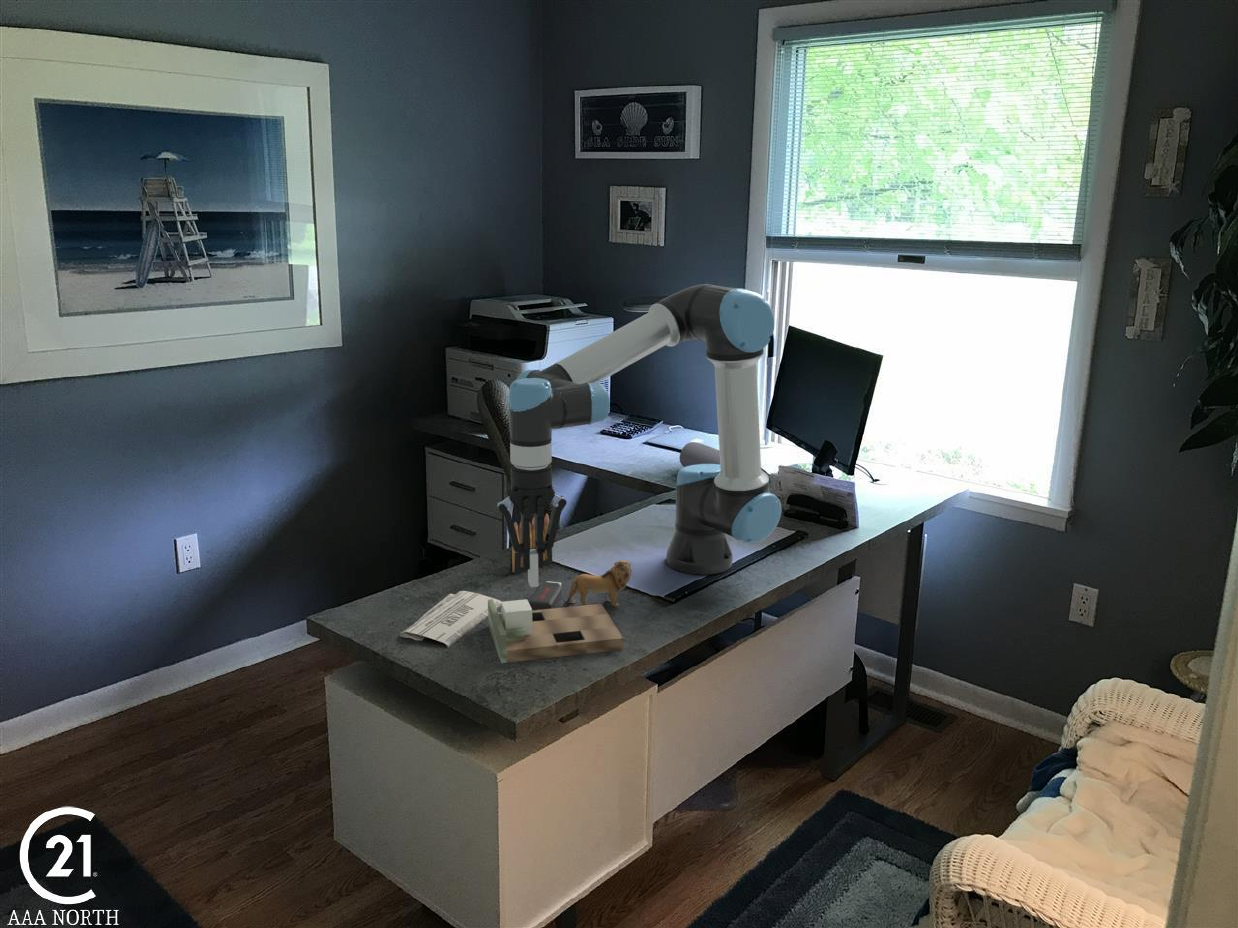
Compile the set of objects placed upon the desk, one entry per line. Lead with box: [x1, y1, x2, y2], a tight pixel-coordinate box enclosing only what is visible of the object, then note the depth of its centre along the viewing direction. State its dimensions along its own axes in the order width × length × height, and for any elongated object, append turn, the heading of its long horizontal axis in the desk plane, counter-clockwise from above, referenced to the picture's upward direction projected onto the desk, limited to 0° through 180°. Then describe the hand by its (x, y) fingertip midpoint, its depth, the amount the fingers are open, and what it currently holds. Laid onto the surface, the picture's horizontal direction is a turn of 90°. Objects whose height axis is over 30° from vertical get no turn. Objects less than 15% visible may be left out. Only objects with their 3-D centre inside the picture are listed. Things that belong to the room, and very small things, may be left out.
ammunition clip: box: [509, 513, 553, 575], centre depth 227 cm, size 11×2×12 cm, turn 133°
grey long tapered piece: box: [678, 441, 720, 468], centre depth 292 cm, size 23×9×10 cm, turn 30°
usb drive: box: [528, 580, 563, 611], centre depth 211 cm, size 5×12×3 cm, turn 169°
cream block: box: [500, 599, 532, 635], centre depth 191 cm, size 5×5×5 cm
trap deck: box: [487, 599, 624, 664], centre depth 194 cm, size 23×16×6 cm
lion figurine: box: [563, 559, 633, 607], centre depth 209 cm, size 15×5×9 cm, turn 110°
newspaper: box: [400, 590, 502, 648], centre depth 201 cm, size 23×12×2 cm, turn 158°
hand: (533, 583), depth 190 cm, fingers closed
